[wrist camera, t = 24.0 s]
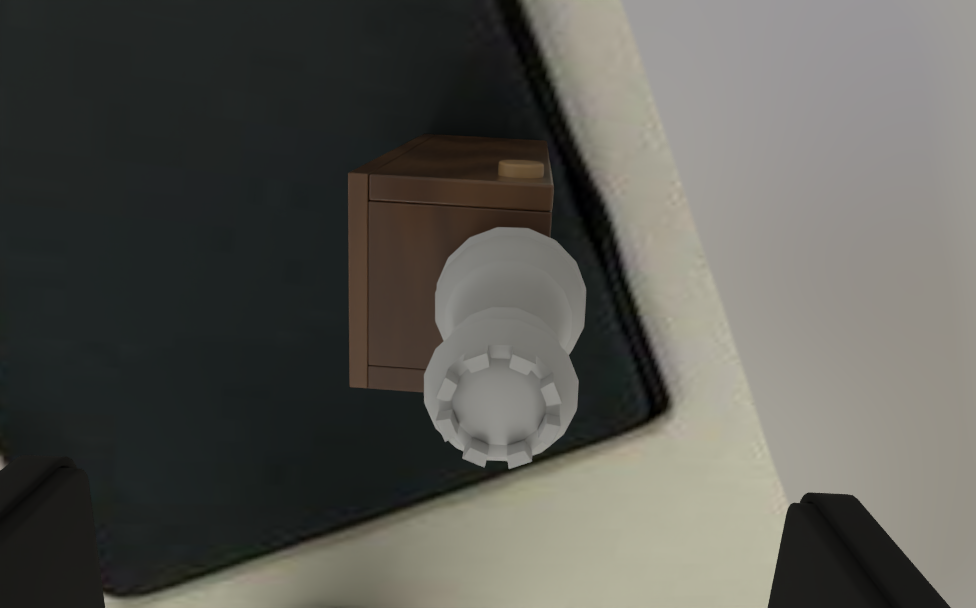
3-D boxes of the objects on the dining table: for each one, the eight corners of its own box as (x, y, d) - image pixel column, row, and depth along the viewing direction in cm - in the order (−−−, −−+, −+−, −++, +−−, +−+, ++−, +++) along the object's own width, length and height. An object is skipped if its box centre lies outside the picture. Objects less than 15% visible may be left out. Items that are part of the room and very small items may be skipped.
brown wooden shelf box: (348, 399, 23) (536, 412, 23) (347, 158, 21) (555, 170, 21) (420, 276, 38) (536, 284, 37) (423, 125, 35) (547, 132, 35)
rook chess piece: (595, 354, 22) (626, 497, 15) (452, 374, 23) (411, 523, 15) (574, 211, 21) (596, 287, 14) (423, 236, 22) (363, 322, 14)
